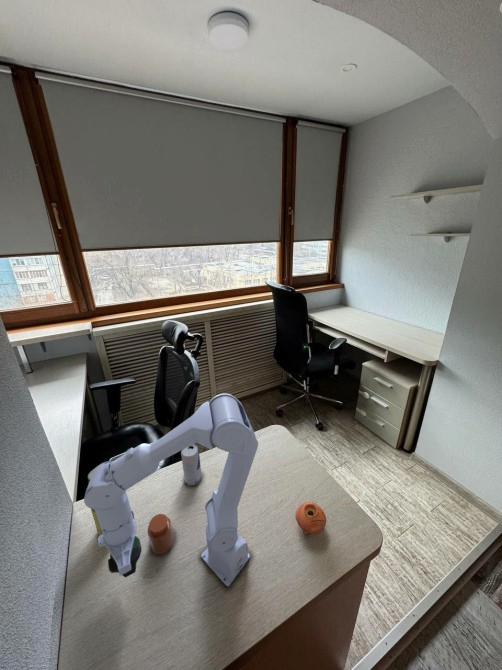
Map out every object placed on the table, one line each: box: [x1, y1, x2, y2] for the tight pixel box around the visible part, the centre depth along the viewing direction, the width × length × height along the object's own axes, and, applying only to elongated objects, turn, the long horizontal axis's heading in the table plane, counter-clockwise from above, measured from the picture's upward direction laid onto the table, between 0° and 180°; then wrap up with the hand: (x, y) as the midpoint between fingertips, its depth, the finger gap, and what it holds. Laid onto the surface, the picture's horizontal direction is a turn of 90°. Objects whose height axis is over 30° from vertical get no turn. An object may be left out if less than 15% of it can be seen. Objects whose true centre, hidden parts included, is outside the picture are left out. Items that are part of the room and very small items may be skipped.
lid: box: [109, 535, 143, 562], centre depth 58 cm, size 6×6×2 cm
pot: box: [295, 501, 327, 536], centre depth 72 cm, size 8×8×7 cm
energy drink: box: [180, 443, 203, 486], centre depth 84 cm, size 5×5×12 cm
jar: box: [147, 513, 175, 555], centre depth 68 cm, size 6×6×8 cm
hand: (128, 558), depth 59 cm, fingers closed on lid, 6 cm apart
